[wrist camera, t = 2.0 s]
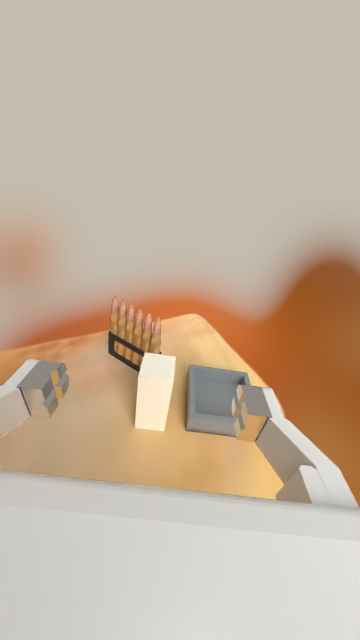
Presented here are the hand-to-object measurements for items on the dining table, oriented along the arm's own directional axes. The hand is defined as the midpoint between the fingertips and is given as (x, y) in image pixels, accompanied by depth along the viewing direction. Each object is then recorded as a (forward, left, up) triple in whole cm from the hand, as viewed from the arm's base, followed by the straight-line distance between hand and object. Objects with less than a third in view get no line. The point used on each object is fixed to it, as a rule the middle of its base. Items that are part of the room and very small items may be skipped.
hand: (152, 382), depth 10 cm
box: (+10, +16, -21) cm, 28 cm away
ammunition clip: (-5, +22, -21) cm, 31 cm away
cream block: (0, +12, -21) cm, 24 cm away
